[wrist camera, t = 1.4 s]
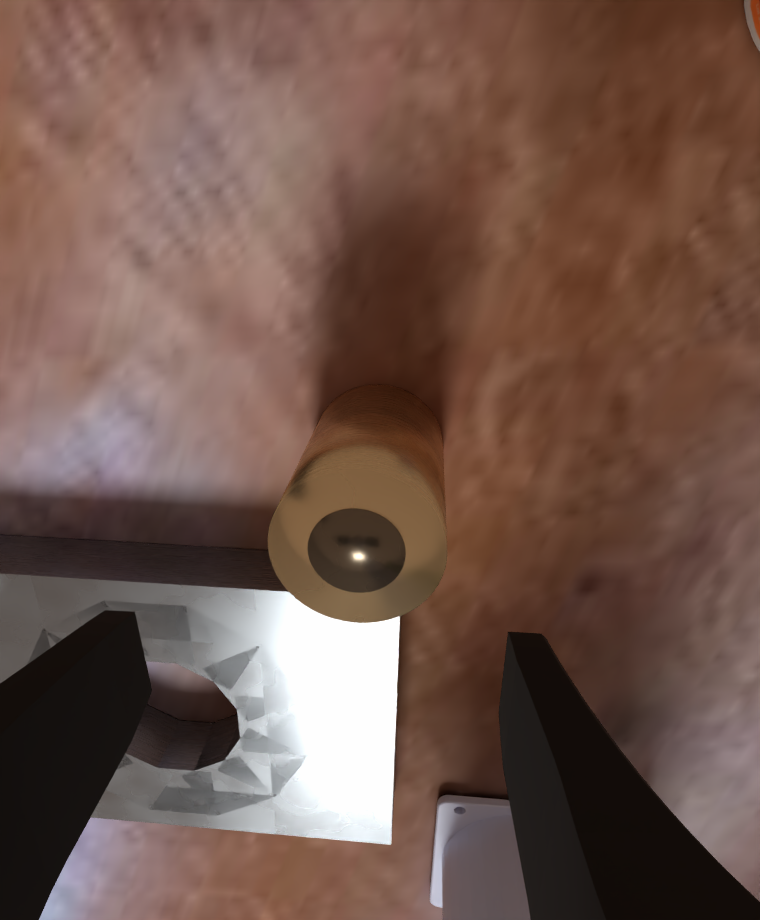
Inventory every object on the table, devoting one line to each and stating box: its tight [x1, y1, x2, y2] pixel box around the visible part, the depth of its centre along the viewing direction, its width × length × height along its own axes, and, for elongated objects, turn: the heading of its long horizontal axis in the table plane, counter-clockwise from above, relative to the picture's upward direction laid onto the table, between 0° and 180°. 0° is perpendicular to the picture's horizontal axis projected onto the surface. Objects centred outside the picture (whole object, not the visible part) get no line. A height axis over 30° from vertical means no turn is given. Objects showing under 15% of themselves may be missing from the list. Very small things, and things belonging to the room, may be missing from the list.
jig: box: [0, 535, 401, 844], centre depth 24 cm, size 18×13×4 cm
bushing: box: [268, 384, 447, 623], centre depth 17 cm, size 4×4×6 cm
